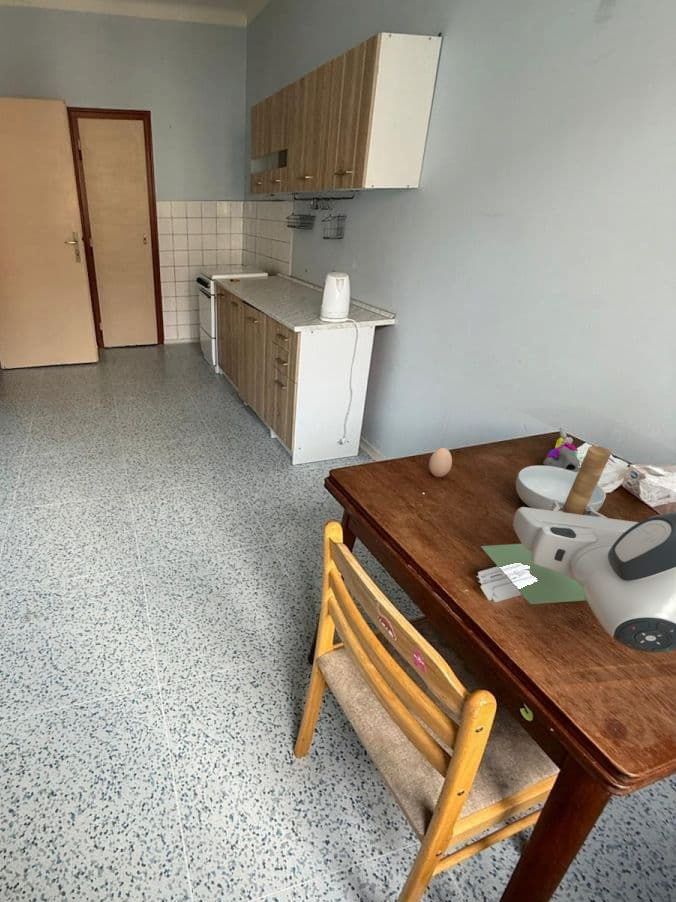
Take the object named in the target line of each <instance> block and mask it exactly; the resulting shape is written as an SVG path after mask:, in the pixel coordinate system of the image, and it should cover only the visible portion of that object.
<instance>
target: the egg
mask: <svg viewBox="0 0 676 902" xmlns="http://www.w3.org/2000/svg"><path fill="white" fill-rule="evenodd" d="M452 465H453V458H452V454H451V452H450V450H449V449H448V448H446V447H439V448H437V449H436V450H435V451H434V452H433V453H432V455H431V456H430V458H429V463H428V468H429V471H430V473H431V474H432V476H434V477H436V478H442V477H444V476H446V475H447V474H448V473H449V472H450V471H451V469H452Z"/></svg>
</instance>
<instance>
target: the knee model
mask: <svg viewBox="0 0 676 902" xmlns="http://www.w3.org/2000/svg"><path fill="white" fill-rule="evenodd" d="M558 432H559V434H560V437H559V438H558V439H557V440H556V442H555V446H554V448H553V449H550V450H549V451H548V453H547V455H546V456H545V459H544V460H543V461H542V464H543V466H553V467H558V468H563V469H567V470H570V471H573V472H576V473H578V471H579V469H580V467H581V462H580V460H579V458H578V453H579V450H578V448H577V447H576V446H575V445H574V444H573V442H574V440H573V438H572V437H571V436H567V431H566V430H565V429H563V427H560V428H559V431H558Z"/></svg>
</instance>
